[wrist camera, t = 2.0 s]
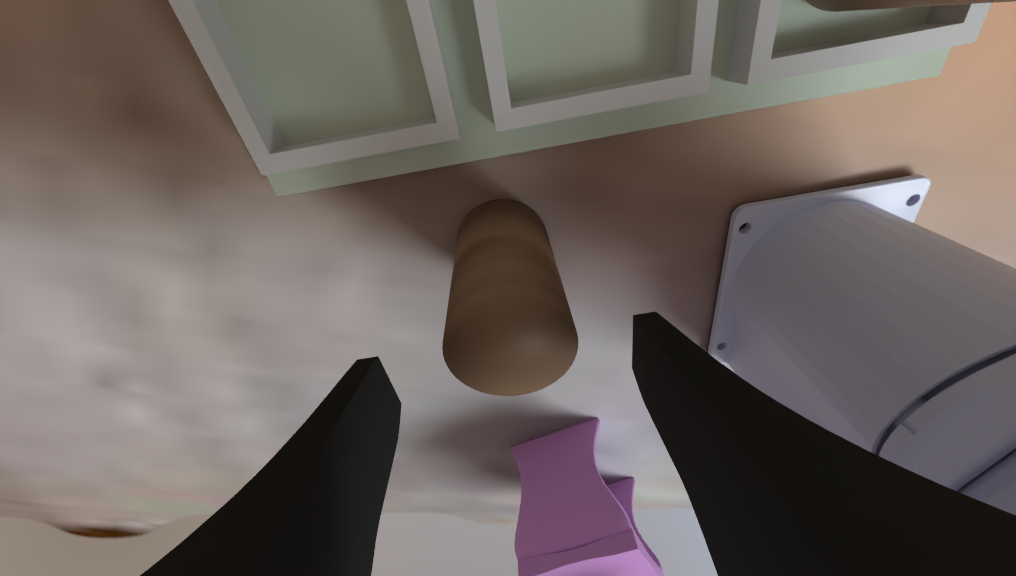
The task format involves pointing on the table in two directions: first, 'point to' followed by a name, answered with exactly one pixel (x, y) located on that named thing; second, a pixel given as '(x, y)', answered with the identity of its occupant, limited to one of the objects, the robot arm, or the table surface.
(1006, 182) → the table surface
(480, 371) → the walnut pin
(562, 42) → the pin board
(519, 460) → the toy chair
